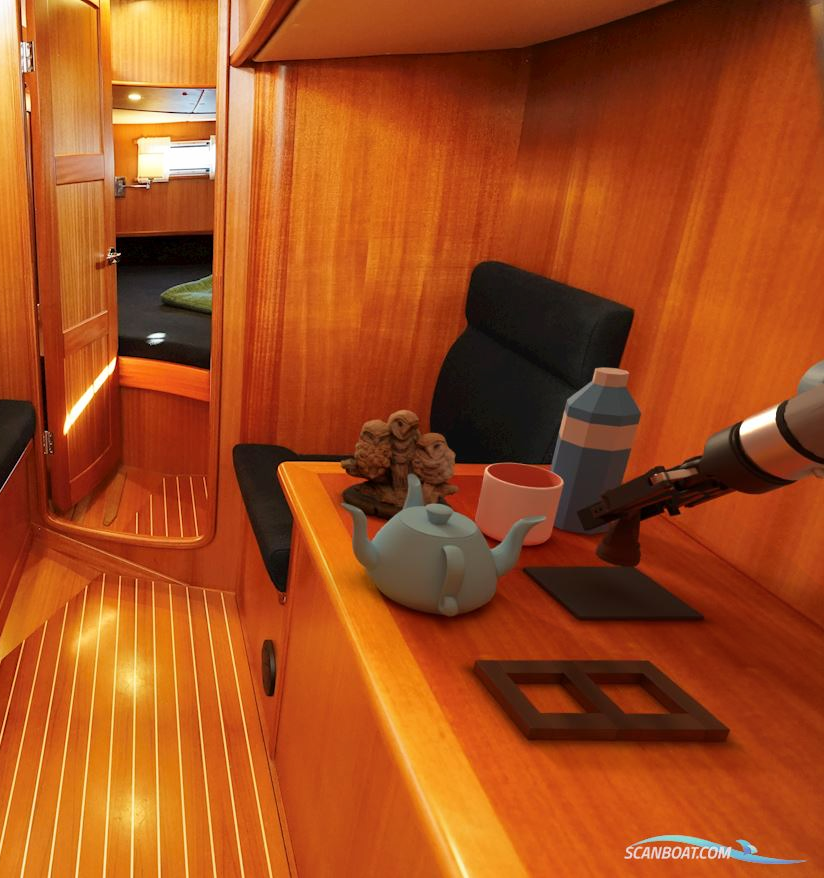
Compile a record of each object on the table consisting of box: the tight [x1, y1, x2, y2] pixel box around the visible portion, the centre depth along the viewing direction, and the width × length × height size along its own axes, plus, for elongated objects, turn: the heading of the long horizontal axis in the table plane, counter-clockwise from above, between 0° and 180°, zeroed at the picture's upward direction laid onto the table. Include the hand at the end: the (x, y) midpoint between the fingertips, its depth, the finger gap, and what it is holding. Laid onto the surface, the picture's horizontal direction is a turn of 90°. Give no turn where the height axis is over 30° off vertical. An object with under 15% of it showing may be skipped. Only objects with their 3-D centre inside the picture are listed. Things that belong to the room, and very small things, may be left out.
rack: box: [472, 659, 731, 742], centre depth 74 cm, size 19×11×2 cm, turn 87°
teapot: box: [340, 474, 547, 617], centre depth 94 cm, size 17×19×12 cm
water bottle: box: [549, 367, 642, 536], centre depth 108 cm, size 9×9×25 cm
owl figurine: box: [340, 409, 459, 521], centre depth 117 cm, size 18×12×17 cm, turn 68°
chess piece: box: [594, 508, 642, 568], centre depth 90 cm, size 5×5×10 cm
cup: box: [474, 462, 564, 547], centre depth 108 cm, size 10×10×10 cm
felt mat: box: [522, 566, 705, 621], centre depth 93 cm, size 15×12×1 cm
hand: (600, 519), depth 94 cm, fingers closed on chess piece, 4 cm apart
